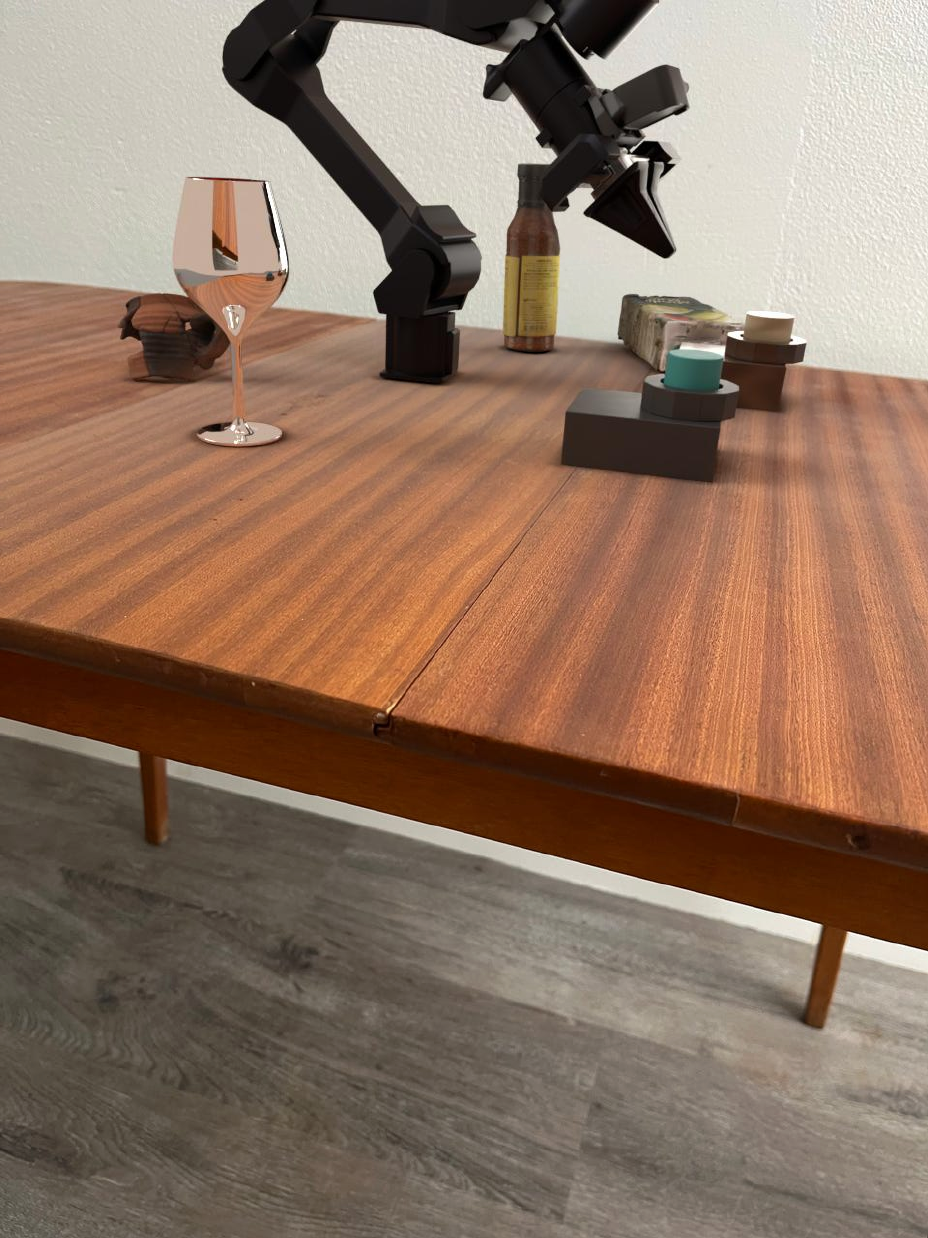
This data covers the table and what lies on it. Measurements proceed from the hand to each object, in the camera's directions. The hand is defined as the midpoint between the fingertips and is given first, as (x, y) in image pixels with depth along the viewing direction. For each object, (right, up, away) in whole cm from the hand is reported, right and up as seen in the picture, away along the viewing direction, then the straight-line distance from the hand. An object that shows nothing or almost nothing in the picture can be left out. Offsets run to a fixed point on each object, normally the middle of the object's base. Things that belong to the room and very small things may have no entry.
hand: (671, 254), depth 83 cm
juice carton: (+7, 0, +32) cm, 33 cm away
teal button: (-1, -14, -10) cm, 17 cm away
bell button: (+11, -4, +11) cm, 17 cm away
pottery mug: (-45, -7, +12) cm, 47 cm away
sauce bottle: (-10, +1, +33) cm, 35 cm away
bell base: (+8, -9, +14) cm, 19 cm away
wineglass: (-35, -17, -7) cm, 39 cm away
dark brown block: (-4, -18, -7) cm, 20 cm away
